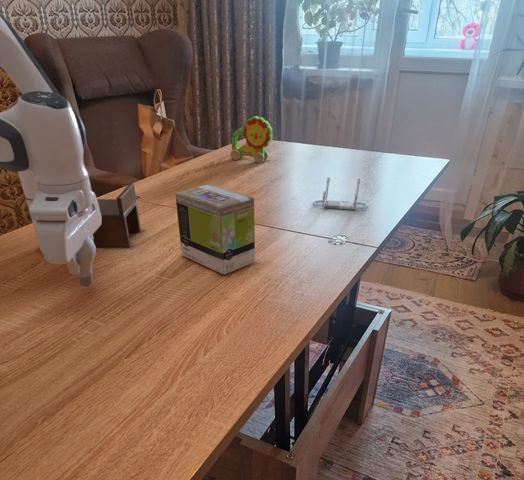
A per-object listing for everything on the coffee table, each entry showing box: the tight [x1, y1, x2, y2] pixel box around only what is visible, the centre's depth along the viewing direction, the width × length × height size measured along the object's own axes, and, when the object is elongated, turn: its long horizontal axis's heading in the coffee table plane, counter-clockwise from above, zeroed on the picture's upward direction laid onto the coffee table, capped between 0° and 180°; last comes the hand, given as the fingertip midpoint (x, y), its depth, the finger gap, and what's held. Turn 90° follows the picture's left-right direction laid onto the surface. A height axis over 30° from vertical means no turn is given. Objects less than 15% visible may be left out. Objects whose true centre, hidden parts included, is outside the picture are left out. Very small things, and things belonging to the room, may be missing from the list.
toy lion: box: [230, 115, 274, 164], centre depth 176 cm, size 16×6×15 cm, turn 66°
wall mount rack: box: [312, 176, 368, 211], centre depth 138 cm, size 16×14×6 cm
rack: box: [93, 182, 142, 249], centre depth 116 cm, size 12×11×12 cm
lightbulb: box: [75, 237, 97, 288], centre depth 94 cm, size 6×6×11 cm
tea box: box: [174, 183, 256, 276], centre depth 105 cm, size 15×10×15 cm
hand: (82, 265), depth 94 cm, fingers closed on lightbulb, 6 cm apart
